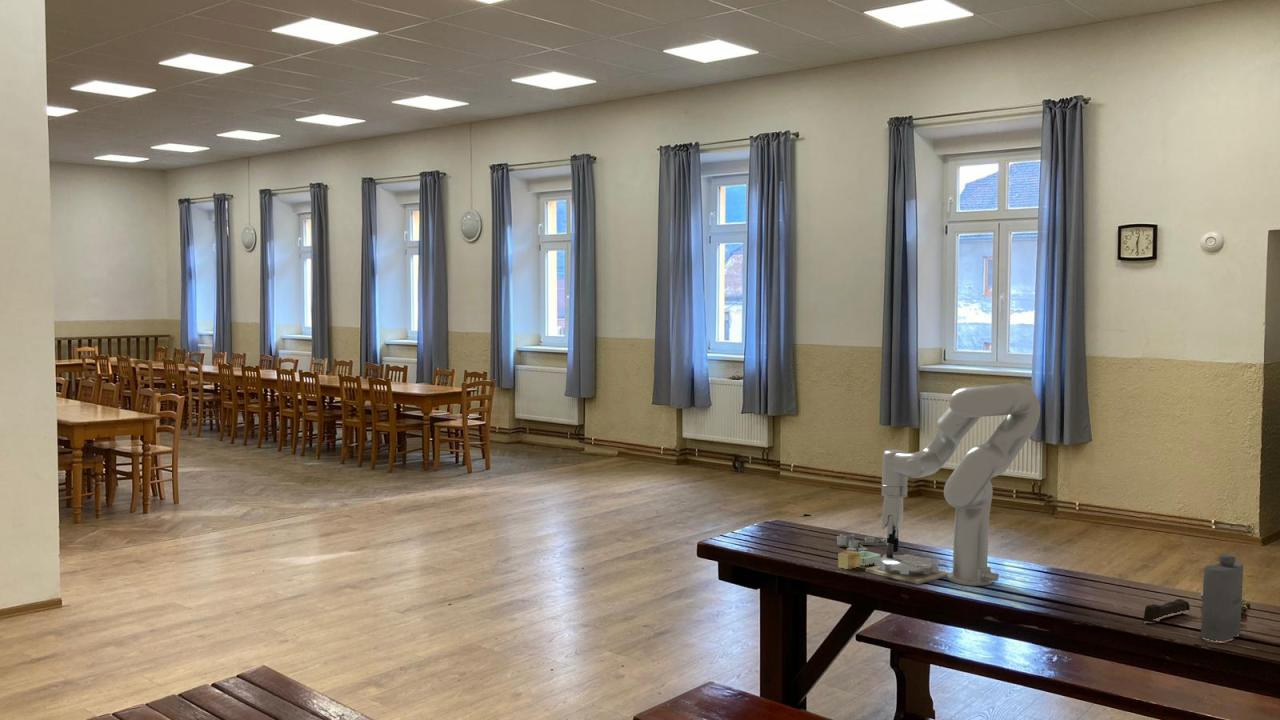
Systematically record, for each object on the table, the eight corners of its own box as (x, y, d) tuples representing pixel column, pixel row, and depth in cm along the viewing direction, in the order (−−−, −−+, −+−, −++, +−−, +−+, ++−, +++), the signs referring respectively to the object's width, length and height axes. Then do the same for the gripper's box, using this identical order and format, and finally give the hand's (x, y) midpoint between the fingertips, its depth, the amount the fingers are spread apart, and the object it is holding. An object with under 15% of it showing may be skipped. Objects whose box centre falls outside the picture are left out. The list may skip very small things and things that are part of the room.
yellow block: (859, 567, 320) (860, 552, 320) (847, 570, 317) (848, 554, 316) (850, 564, 323) (850, 549, 323) (837, 567, 319) (838, 552, 319)
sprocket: (950, 568, 312) (951, 548, 312) (915, 578, 300) (915, 557, 300) (898, 557, 326) (898, 538, 325) (862, 565, 314) (862, 545, 313)
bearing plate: (948, 575, 312) (949, 570, 312) (917, 584, 301) (918, 578, 301) (897, 564, 325) (897, 559, 325) (865, 571, 315) (865, 566, 315)
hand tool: (1175, 612, 279) (1175, 594, 279) (1190, 616, 276) (1190, 598, 275) (1133, 623, 268) (1134, 604, 268) (1148, 627, 265) (1149, 608, 265)
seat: (881, 561, 328) (881, 554, 328) (863, 565, 322) (864, 558, 322) (864, 558, 333) (864, 550, 333) (846, 561, 327) (846, 554, 327)
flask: (1223, 646, 250) (1227, 562, 249) (1197, 640, 254) (1201, 557, 253) (1246, 634, 260) (1250, 553, 259) (1220, 628, 264) (1224, 549, 263)
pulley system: (819, 552, 344) (861, 557, 334) (819, 538, 344) (861, 542, 334) (858, 542, 365) (899, 546, 355) (858, 528, 365) (899, 532, 356)
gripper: (886, 486, 329) (884, 545, 330) (877, 493, 315) (875, 554, 316) (911, 488, 326) (909, 547, 327) (902, 495, 312) (900, 557, 313)
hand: (892, 550), depth 321 cm, fingers closed
